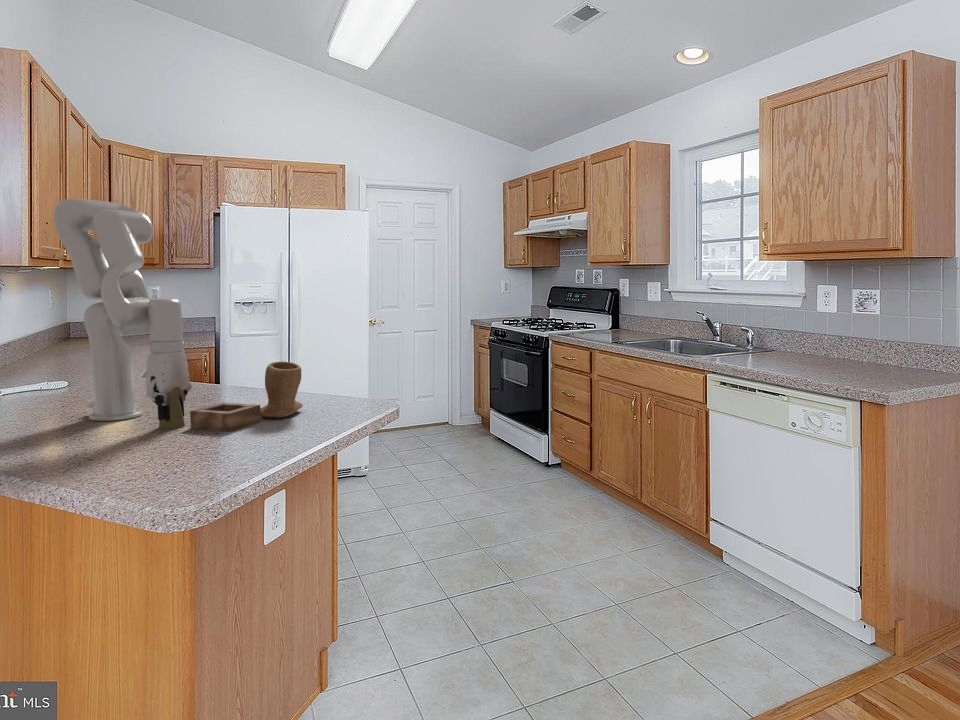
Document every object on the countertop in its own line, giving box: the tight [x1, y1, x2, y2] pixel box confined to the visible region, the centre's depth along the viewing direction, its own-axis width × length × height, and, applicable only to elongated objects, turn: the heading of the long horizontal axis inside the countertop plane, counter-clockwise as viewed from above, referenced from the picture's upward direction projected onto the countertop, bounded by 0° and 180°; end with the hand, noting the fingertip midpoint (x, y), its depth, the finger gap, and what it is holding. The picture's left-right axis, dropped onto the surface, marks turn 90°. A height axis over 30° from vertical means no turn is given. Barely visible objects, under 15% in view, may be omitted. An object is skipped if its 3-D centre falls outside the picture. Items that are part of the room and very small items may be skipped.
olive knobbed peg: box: [158, 387, 186, 430], centre depth 158 cm, size 6×6×11 cm
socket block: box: [189, 401, 262, 433], centre depth 160 cm, size 12×12×4 cm
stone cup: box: [260, 360, 303, 418], centre depth 172 cm, size 15×12×15 cm
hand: (171, 417), depth 158 cm, fingers closed on olive knobbed peg, 4 cm apart
